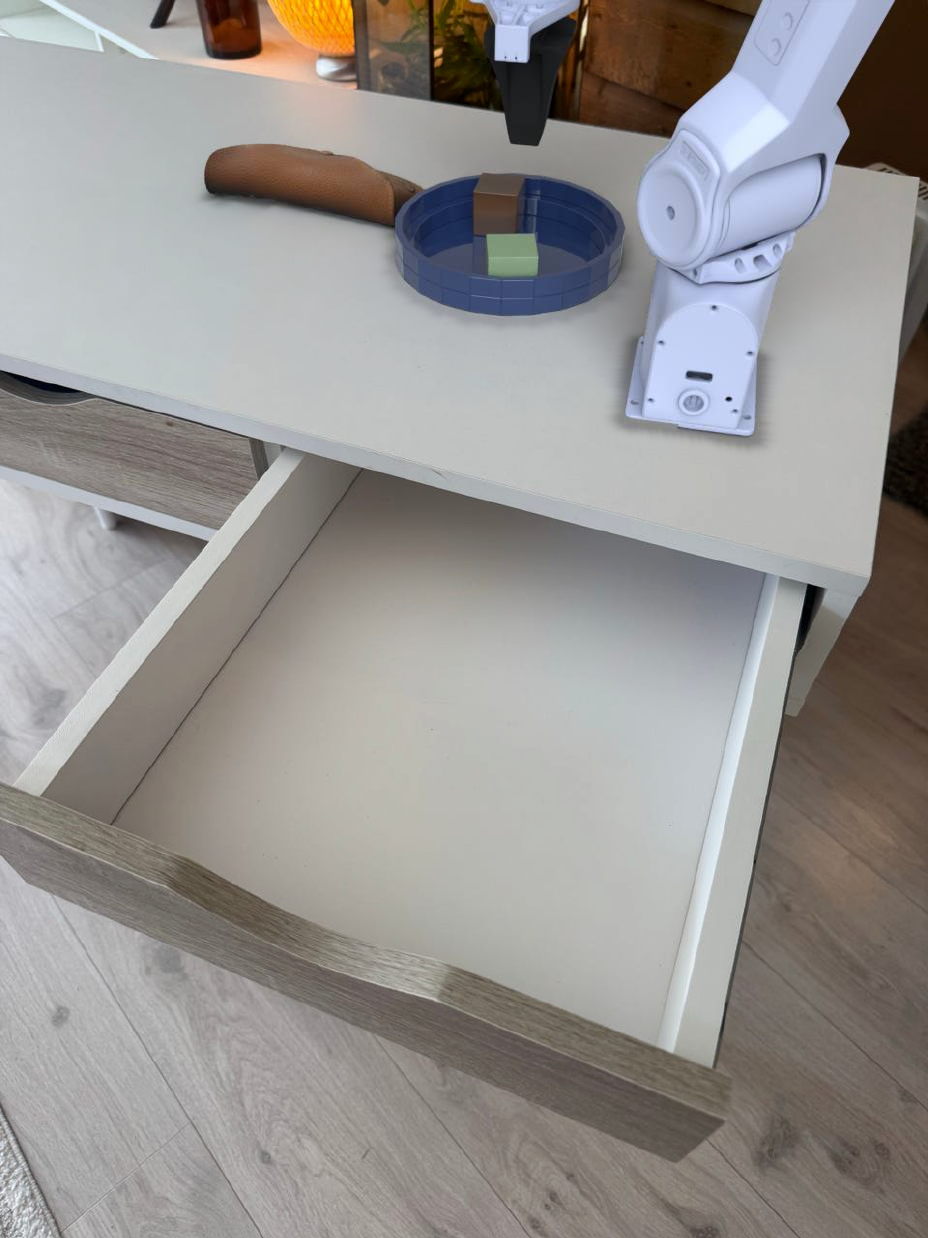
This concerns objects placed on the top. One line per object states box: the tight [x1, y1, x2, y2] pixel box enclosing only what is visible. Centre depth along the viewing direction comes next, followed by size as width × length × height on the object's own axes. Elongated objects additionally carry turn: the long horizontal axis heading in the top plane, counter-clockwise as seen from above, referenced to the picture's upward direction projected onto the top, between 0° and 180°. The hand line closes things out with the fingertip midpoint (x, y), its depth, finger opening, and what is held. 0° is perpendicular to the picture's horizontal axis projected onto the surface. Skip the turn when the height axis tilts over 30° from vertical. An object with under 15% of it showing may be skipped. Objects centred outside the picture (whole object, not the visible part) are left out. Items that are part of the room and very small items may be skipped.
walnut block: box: [473, 172, 526, 236], centre depth 74 cm, size 4×4×4 cm
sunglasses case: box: [203, 143, 426, 228], centre depth 78 cm, size 18×7×7 cm
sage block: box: [486, 234, 539, 276], centre depth 67 cm, size 4×4×4 cm
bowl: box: [394, 172, 626, 317], centre depth 71 cm, size 17×17×3 cm
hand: (525, 141), depth 66 cm, fingers closed
